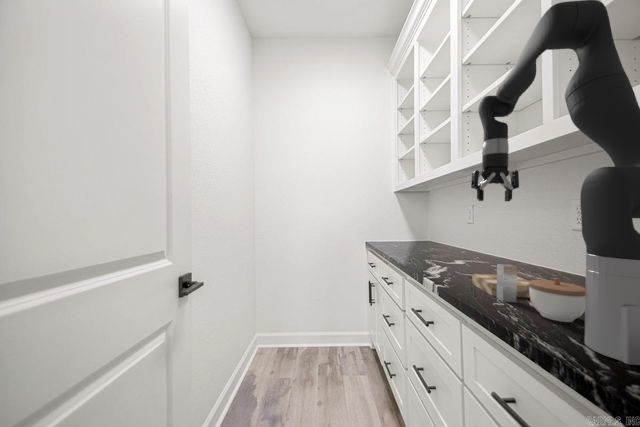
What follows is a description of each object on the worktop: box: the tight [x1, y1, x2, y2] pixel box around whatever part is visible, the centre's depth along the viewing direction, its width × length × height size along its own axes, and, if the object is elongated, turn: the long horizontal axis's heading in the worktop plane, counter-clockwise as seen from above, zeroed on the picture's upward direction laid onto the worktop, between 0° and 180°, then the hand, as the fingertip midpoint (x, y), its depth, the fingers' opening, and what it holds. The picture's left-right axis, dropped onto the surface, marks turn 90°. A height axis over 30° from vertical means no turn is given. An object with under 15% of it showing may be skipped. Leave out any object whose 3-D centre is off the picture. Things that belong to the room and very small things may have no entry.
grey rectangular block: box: [496, 263, 518, 303], centre depth 77 cm, size 4×4×10 cm
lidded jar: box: [528, 277, 585, 323], centre depth 65 cm, size 11×11×9 cm
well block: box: [471, 273, 530, 298], centre depth 88 cm, size 14×14×4 cm
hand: (494, 201), depth 93 cm, fingers open, 8 cm apart
